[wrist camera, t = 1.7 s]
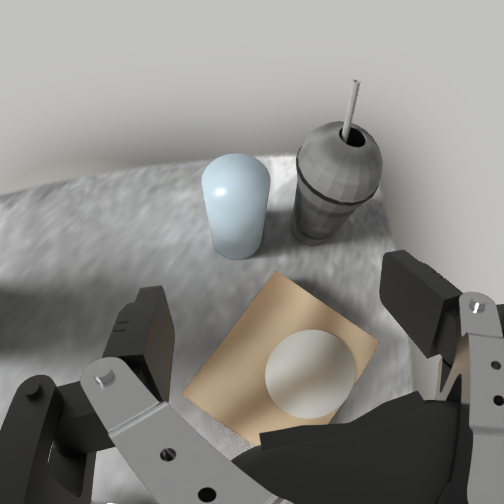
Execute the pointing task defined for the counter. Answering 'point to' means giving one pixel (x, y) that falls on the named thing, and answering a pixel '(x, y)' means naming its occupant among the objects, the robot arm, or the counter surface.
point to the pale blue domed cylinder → (236, 203)
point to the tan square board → (281, 364)
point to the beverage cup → (334, 176)
